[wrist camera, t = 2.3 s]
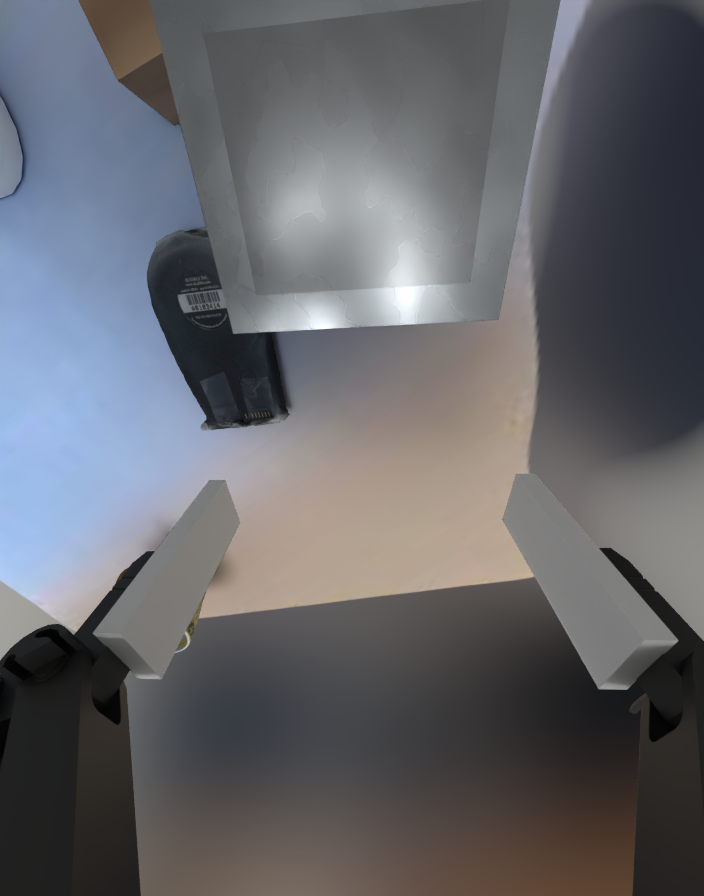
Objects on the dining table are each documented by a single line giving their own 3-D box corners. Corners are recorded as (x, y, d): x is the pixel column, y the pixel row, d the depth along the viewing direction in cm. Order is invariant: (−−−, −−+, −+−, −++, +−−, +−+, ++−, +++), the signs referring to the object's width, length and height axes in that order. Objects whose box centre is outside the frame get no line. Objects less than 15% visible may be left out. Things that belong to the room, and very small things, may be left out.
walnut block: (120, 4, 16) (31, -96, 12) (196, -48, 15) (128, -178, 11) (175, 126, 18) (117, 80, 14) (243, 88, 17) (203, 26, 13)
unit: (265, 137, 18) (133, -47, 8) (454, 119, 18) (585, -110, 7) (291, 313, 24) (233, 342, 13) (437, 305, 23) (498, 329, 12)
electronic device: (304, 400, 30) (253, 216, 20) (287, 432, 25) (213, 218, 16) (225, 404, 31) (145, 237, 22) (197, 434, 27) (83, 244, 18)
